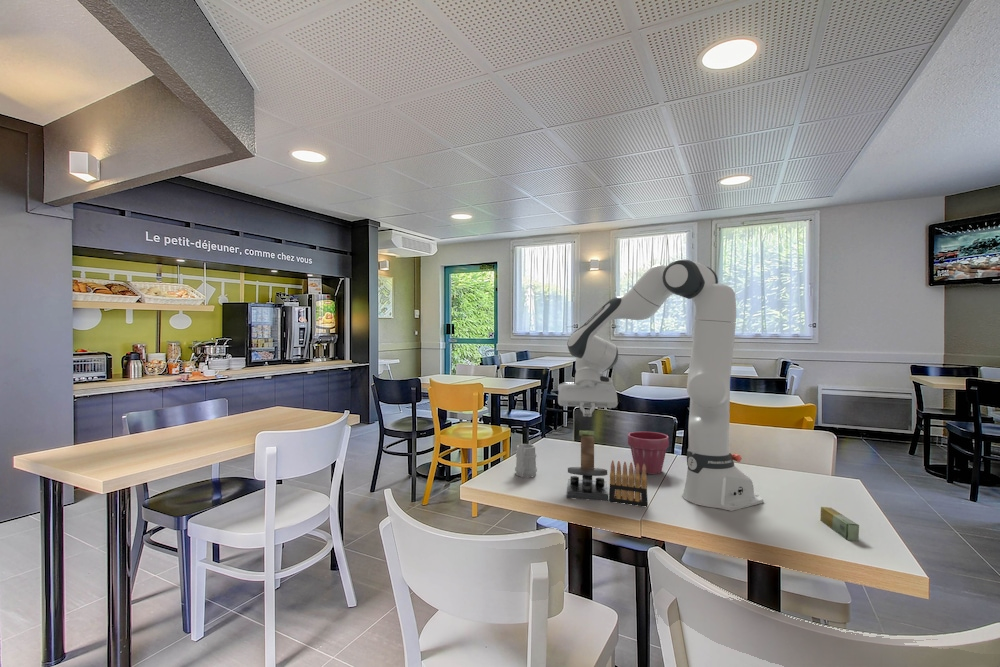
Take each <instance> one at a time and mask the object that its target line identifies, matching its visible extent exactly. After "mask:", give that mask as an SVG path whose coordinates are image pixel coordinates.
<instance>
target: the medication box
mask: <svg viewBox="0 0 1000 667" xmlns="http://www.w3.org/2000/svg"><path fill="white" fill-rule="evenodd" d="M819 518H820V521H821V522H822V523H823V524H824V525H826V526H827V528H830V529H831V530H833V531H834V533H837V534H838V535H839V536H840V537H842V538H844V539H845V540H846V541H851V542H859V535H860V534H859V533H860V525H859V524H858V523H856V522H854V521H853V520H852V519H850V518H849V517H847V516H845V515H844V514H842V513H840V512H839V511H837V510H836V509H834V508H832V507H828V506H820V517H819Z"/></svg>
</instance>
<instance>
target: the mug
mask: <svg viewBox="0 0 1000 667" xmlns="http://www.w3.org/2000/svg"><path fill="white" fill-rule="evenodd" d="M515 457H516V461H515V467H514V471H515V475H516V476H518V477H520V476H521V477H520V478H531V477H530V476H533V477H535V476H536V475H537V472H538V468H537V463H536V462H537V461H536V460H537V459H536V458H537V453H536V445H534V444H532V443H531V444H529V443H520V444H518V445H516V453H515Z"/></svg>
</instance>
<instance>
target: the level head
mask: <svg viewBox="0 0 1000 667" xmlns="http://www.w3.org/2000/svg"><path fill="white" fill-rule="evenodd" d="M578 434H579V436H580V466H570V467H567V473H568V474H571V475H575V476H576V475H577V476H582V475H586V476H592V477H604V476H608V469H607V468H606V469H605V468H599V467H595V437H596V436H597V431H596V430H579V432H578Z"/></svg>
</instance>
